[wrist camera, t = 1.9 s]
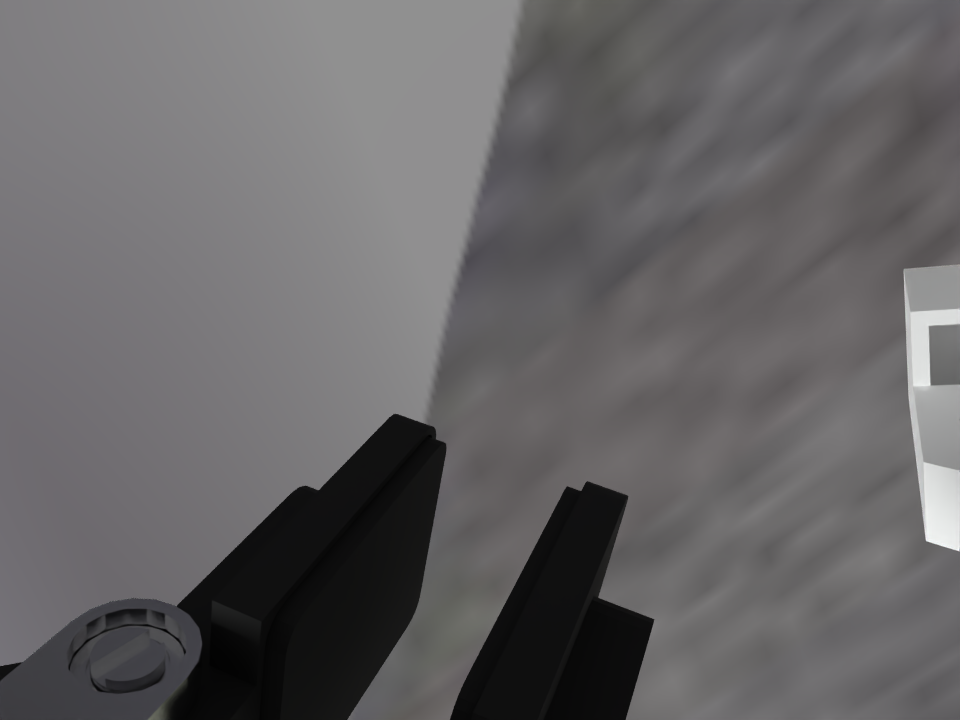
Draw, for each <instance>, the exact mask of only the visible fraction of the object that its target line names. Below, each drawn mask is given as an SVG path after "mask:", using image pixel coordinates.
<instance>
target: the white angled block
mask: <svg viewBox="0 0 960 720" xmlns="http://www.w3.org/2000/svg"><path fill="white" fill-rule="evenodd" d="M904 290H905V316H906V341H907V366H908V392H909V405H910V413H911V422H912V430H913V438H914V446H915V454H916V462H917V470H918V479H919V487H920V495H921V503H922V511H923V519H924V527H925V536H926V541H928V542H931V543H934V544H938V545H941V546H944V547H947V548H950V549H954V550H957V551H960V265H948V266H935V267H923V268H910V269H904Z"/></svg>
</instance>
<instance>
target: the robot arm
mask: <svg viewBox="0 0 960 720" xmlns="http://www.w3.org/2000/svg"><path fill="white" fill-rule="evenodd" d="M445 455H446V444H445V443H444V442H441V441H439V440H436V430H435V428H434V427H432V426H429V425H427V424H424V423H421V422H418V421H415V420H412V419H409V418H407V417H404V416H401V415H398V414H393V415H392V416H391V417H389V419H388V420H387V421H386V422H385V423H384V424H383V425H382V426H381V427H380V428H379V429H378V430H377V431H376V432H375V433H374V434H373V435H372V436H371V437H370V438H369V439H368V440H367V441H366V442H365V443H364V444H363V445H362V446H361V447H360V449H358V450H357V451H356V453H355V454H354V455H353V456H352V457H351V458H350V459H349V460H348V461H347V462H346V463H345V464H344V465H343V466H342V467H341V468H340V469H339V470H338V471H337V472H336V473H335V474H334V475H333V476H332V477H331V478H330V479H329V480H328V481H327V482H326V484H324V485H323V486H322V488H321V489H320V490H316V489H313V488H310V487H308V486H302V487H299V488H297V490H295V491H293V492H292V493H291V494H290V495H289V496H288V497H287V498H286V499H285V500H284V501H283V502H282V503H281V504H280V505H279V506H278V507H277V508H276V509H275V510H274V511H273V512H272V513H271V514H270V515H269V516H268V517H267V518H266V519H265V520H264V521H263V522H262V523H261V524H260V525H258V526H257V527H256V529H255V530H253V531H252V533H250V534H249V535H248V536H247V537H246V538H245V539H244V540H243V541H242V542H241V543H240V544H239V545H238V546H237V547H236V548H235V549H234V550H233V551H232V552H231V553H230V554H229V555H228V556H227V557H226V558H225V559H224V560H223V561H222V562H221V563H220V564H219V565H218V566H217V567H216V568H215V569H214V570H213V571H212V572H211V573H210V574H209V575H208V576H207V577H206V578H205V579H204V580H203V581H202V582H201V583H200V584H199V585H198V586H197V587H196V588H195V589H194V590H192V592H191V593H189V594H188V595H187V596H186V597H185V598H184V599H183V600H182V601H181V602H180V603H179V604H178V605H177V606H175V605H172V604H169V603H165V602H162V601H159V600H156V599H141V598H140V599H139V598H131V599H124V600H117V601H112V602H109V603H106V604H103V605H100V606H97V607H95V608H92V609H89V610H88V611H87V612H85V613H83V614H82V615H80V616H79V617H77V618H75V619H74V620H72V621H71V622H70V623H69V624H67V625H66V626H65V627H64V628H63V629H62V630H60V631H59V632H58V633H57V634H55V635H54V636H53V637H52V638H51V639H50V640H48V641H47V642H46V643H45V644H44V645H42V646H41V647H40V648H39V649H38V650H36V652H34V653H33V654H32V655H31V656H29V657H28V658H27V659H26V660H25V661H23V662H21V663H16V664H10V665H4V666H0V720H347V719H348V718H349V716H350V714H351V713H352V711H353V710H354V708H355V707H356V705H357V704H358V702H359V701H360V699H361V697H362V696H363V694H364V693H365V691H366V690H367V688H368V687H369V685H370V684H371V682H372V680H373V679H374V677H375V676H376V674H377V673H378V671H379V670H380V668H381V667H382V665H383V664H384V662H385V660H386V659H387V657H388V656H389V654H390V653H391V651H392V650H393V648H394V647H395V645H396V643H397V642H398V640H399V639H400V637H401V636H402V634H403V633H404V631H405V630H406V628H407V626H408V625H409V623H410V621H411V619H412V617H413V615H414V613H415V610H416V608H417V605H418V602H419V598H420V593H421V587H422V582H423V576H424V571H425V565H426V560H427V554H428V549H429V543H430V538H431V532H432V527H433V521H434V516H435V510H436V505H437V499H438V494H439V488H440V483H441V477H442V472H443V466H444V461H445ZM627 500H628V496H627V495H625V494H622V493H619V492H616V491H613V490H610V489H608V488H605V487H602V486H599V485H596V484H593V483H591V482H588V481H587V482H586V483H585V485H584V487H583V489H582V491H579V490H576V489H573V488H570V487H568V486H567V487H566V489H565V490H564V492H563V494H562V496H561V498H560V500H559V502H558V504H557V506H556V507H555V509H554V511H553V513H552V515H551V517H550V519H549V521H548V523H547V525H546V527H545V529H544V530H543V532H542V534H541V536H540V538H539V540H538V542H537V544H536V546H535V548H534V550H533V551H532V553H531V555H530V557H529V559H528V561H527V563H526V565H525V567H524V569H523V571H522V573H521V574H520V576H519V578H518V580H517V582H516V584H515V586H514V588H513V590H512V592H511V594H510V595H509V597H508V599H507V601H506V603H505V605H504V607H503V609H502V611H501V613H500V615H499V617H498V618H497V620H496V622H495V624H494V626H493V628H492V630H491V632H490V634H489V636H488V638H487V639H486V641H485V643H484V645H483V647H482V649H481V651H480V653H479V655H478V657H477V659H476V661H475V662H474V664H473V666H472V668H471V670H470V672H469V674H468V676H467V678H466V680H465V682H464V684H463V686H462V688H461V691H460V693H459V696H458V698H457V701H456V703H455V706H454V709H453V712H452V715H451V718H450V720H626V716H627V713H628V709H629V706H630V702H631V699H632V696H633V692H634V689H635V685H636V682H637V678H638V675H639V671H640V668H641V664H642V661H643V658H644V654H645V651H646V647H647V644H648V640H649V637H650V633H651V630H652V626H653V622H654V619H652V618H649V617H647V616H644V615H641V614H639V613H636V612H634V611H631V610H628V609H626V608H623V607H620V606H618V605H615V604H613V603H610V602H607V601H605V600H602V599H600V598H598V596H599V593H600V589H601V586H602V583H603V579H604V576H605V573H606V570H607V566H608V563H609V560H610V557H611V553H612V550H613V547H614V543H615V540H616V537H617V534H618V530H619V527H620V524H621V520H622V517H623V514H624V511H625V507H626V504H627Z"/></svg>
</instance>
